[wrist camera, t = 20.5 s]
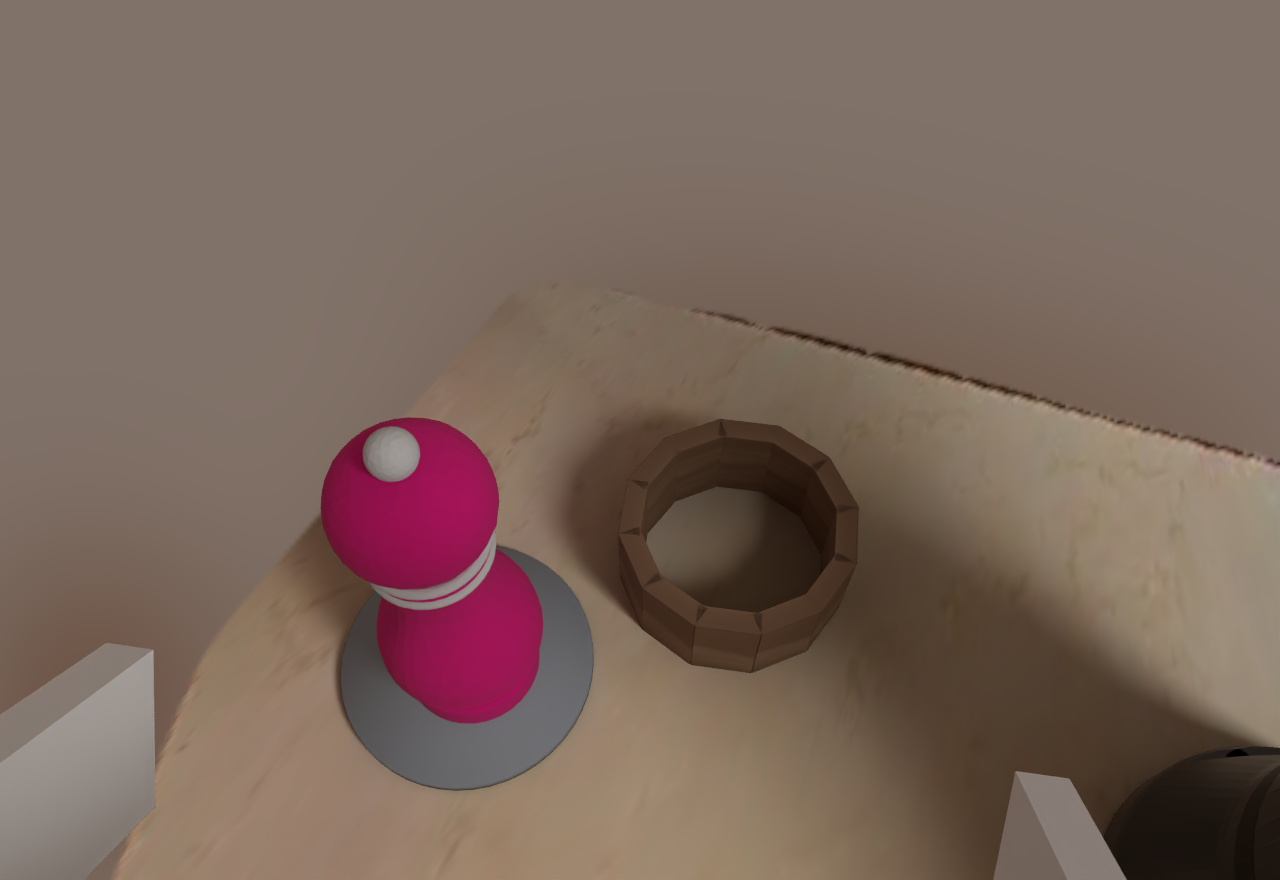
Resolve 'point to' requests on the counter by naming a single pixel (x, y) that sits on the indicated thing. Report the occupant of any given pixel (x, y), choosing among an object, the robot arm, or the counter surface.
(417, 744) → the coaster
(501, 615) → the pepper mill
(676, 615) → the brown wooden bowl
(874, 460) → the counter surface
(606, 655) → the counter surface
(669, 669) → the counter surface
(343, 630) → the counter surface
